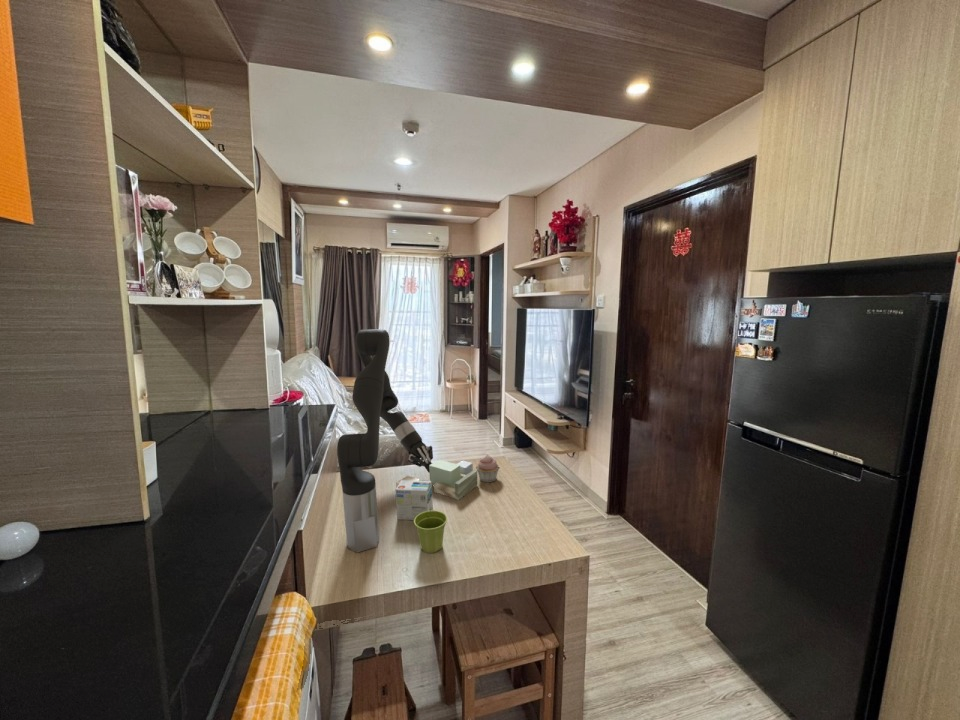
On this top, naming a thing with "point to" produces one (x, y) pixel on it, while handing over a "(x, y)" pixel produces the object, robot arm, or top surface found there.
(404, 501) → the light bulb box
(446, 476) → the sage block
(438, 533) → the plant pot
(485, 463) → the cupcake
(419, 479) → the cream block
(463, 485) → the birch bay
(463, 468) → the grey-blue block
